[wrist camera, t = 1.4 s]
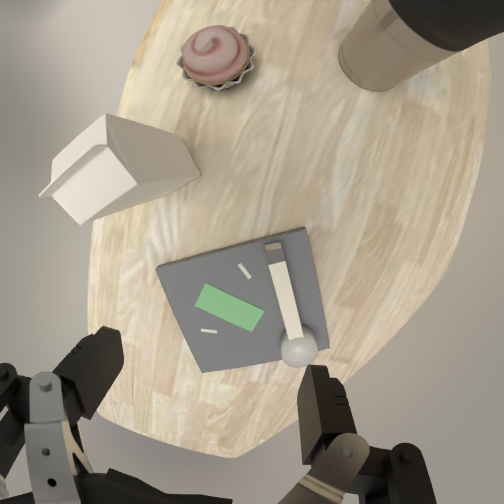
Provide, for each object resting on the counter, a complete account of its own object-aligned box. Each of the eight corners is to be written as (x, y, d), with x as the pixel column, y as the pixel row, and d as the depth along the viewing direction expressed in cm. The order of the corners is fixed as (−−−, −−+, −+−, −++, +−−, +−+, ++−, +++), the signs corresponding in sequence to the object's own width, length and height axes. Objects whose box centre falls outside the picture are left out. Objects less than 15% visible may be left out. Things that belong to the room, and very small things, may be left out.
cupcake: (213, 114, 32) (194, 94, 22) (175, 67, 30) (147, 39, 20) (272, 75, 30) (275, 43, 20) (231, 30, 28) (221, -8, 18)
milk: (201, 175, 34) (116, 190, 13) (163, 197, 35) (54, 239, 14) (181, 135, 33) (79, 104, 12) (144, 158, 34) (23, 162, 13)
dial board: (304, 227, 36) (306, 229, 34) (327, 342, 41) (329, 348, 39) (159, 265, 38) (154, 269, 37) (203, 367, 43) (201, 373, 42)
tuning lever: (316, 348, 39) (320, 362, 36) (284, 355, 40) (285, 370, 36) (291, 238, 34) (294, 245, 31) (253, 248, 35) (252, 256, 31)
